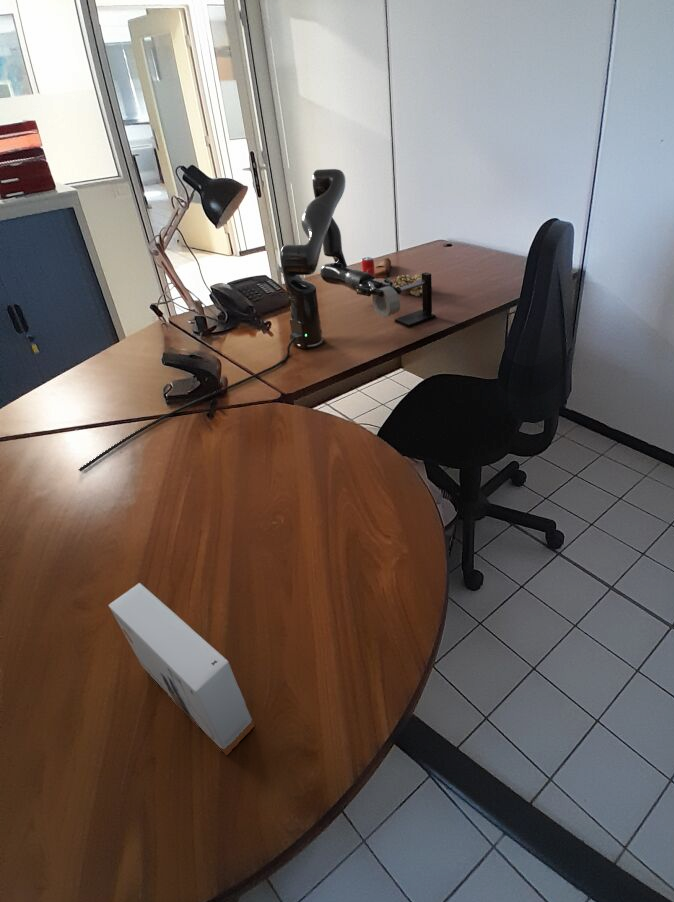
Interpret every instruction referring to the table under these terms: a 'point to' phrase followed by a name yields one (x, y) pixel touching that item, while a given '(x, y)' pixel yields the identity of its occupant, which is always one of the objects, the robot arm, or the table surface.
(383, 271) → the sunglasses case
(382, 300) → the tape roll
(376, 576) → the table surface
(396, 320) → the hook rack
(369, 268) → the beverage can
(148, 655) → the skincare box
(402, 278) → the mineral formation
